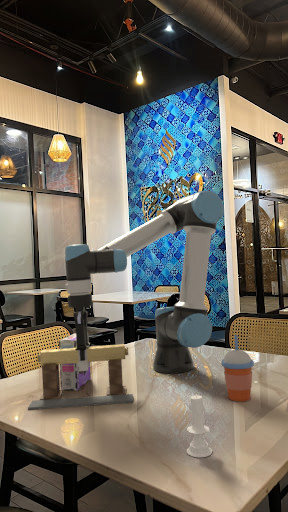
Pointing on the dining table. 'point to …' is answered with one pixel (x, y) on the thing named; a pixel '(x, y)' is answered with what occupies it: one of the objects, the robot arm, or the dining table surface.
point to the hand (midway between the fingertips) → (84, 368)
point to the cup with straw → (238, 373)
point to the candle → (198, 429)
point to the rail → (92, 354)
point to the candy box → (72, 368)
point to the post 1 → (51, 382)
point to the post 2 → (115, 378)
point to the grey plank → (81, 401)
